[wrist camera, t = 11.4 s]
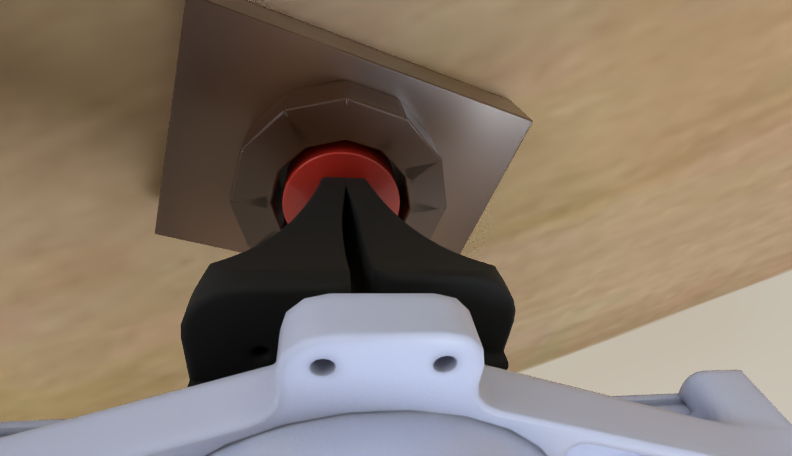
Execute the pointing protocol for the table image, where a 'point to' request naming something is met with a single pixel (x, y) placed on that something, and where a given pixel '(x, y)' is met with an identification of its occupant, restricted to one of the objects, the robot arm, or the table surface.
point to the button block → (317, 127)
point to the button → (337, 173)
